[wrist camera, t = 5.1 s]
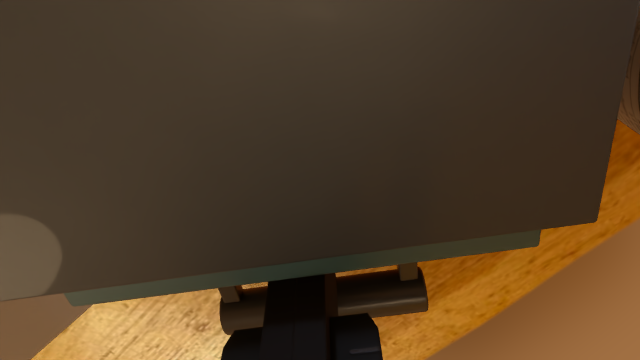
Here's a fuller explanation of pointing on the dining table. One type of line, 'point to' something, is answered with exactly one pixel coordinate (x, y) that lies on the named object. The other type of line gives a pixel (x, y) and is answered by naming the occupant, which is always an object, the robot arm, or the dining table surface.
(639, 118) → the supplement bottle
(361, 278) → the teal drawer
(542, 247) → the dining table surface
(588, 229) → the dining table surface
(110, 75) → the drawer cabinet
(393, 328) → the dining table surface
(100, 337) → the dining table surface
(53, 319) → the platform
